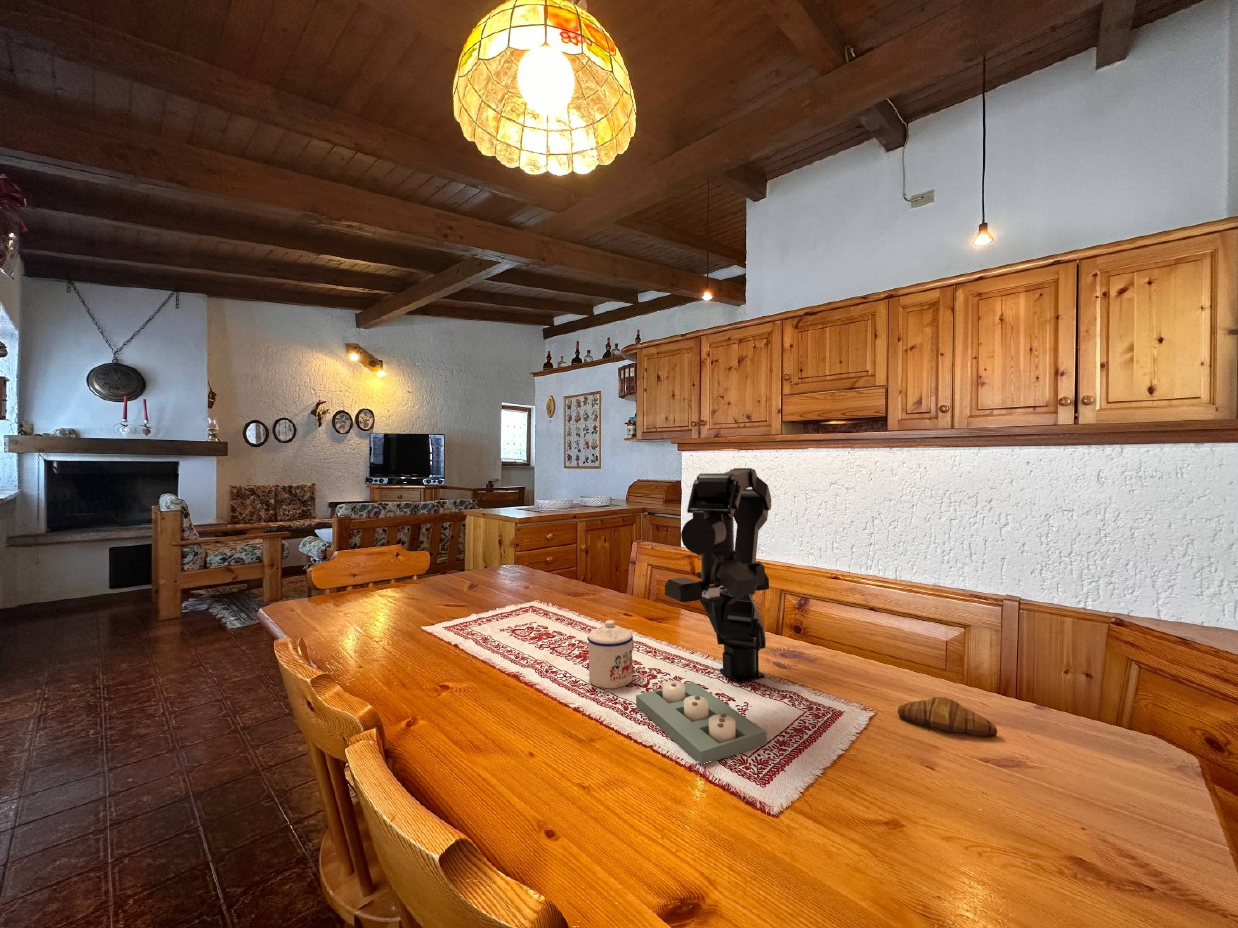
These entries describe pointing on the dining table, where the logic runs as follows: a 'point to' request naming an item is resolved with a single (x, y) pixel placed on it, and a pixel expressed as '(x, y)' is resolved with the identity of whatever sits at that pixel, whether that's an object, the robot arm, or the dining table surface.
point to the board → (700, 725)
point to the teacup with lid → (610, 656)
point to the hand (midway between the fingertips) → (718, 633)
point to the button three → (722, 728)
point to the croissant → (947, 717)
